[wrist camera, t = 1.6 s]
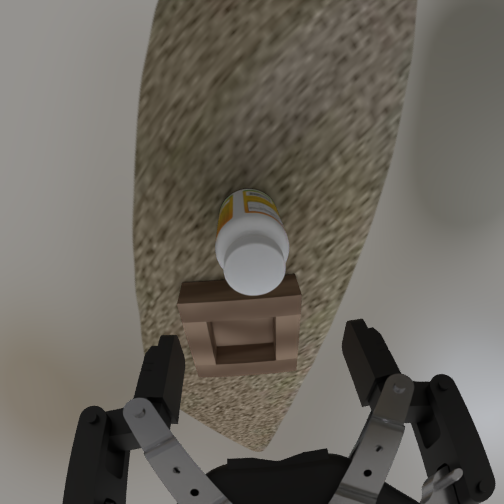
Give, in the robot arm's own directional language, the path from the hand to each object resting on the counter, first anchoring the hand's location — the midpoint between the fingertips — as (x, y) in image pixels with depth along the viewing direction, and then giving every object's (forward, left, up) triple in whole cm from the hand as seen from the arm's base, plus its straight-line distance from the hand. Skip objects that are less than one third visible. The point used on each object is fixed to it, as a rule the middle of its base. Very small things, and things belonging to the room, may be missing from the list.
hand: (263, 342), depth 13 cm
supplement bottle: (0, 0, -16) cm, 16 cm away
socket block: (+13, -1, -16) cm, 20 cm away
